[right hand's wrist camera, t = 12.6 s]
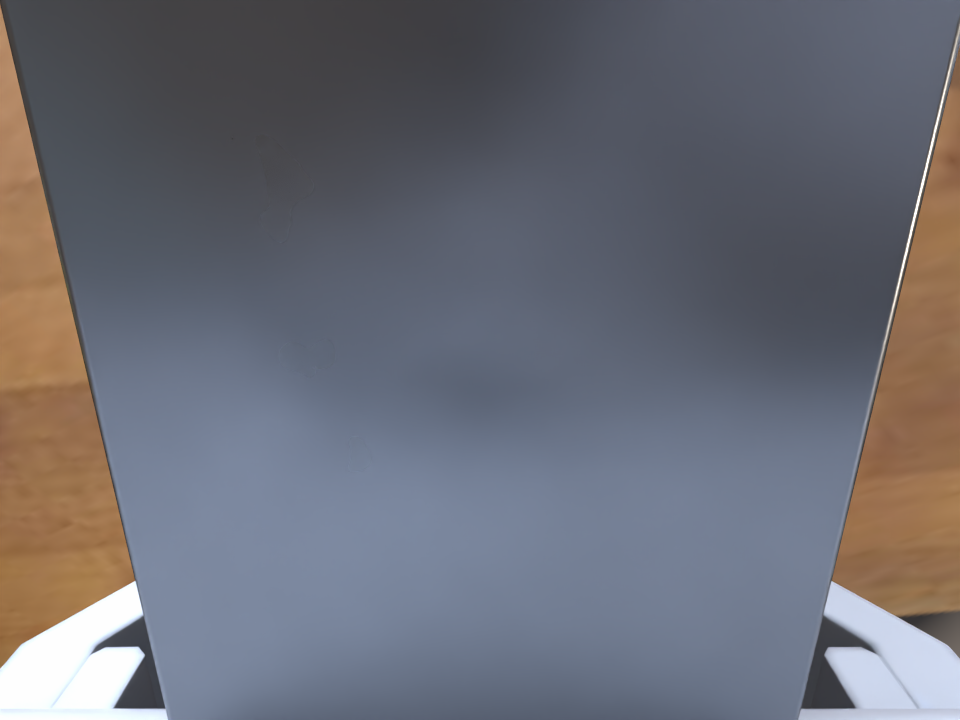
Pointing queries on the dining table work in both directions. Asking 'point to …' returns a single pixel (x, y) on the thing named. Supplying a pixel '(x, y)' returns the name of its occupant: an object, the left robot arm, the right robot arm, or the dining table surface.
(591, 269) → the bar
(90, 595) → the dining table surface
